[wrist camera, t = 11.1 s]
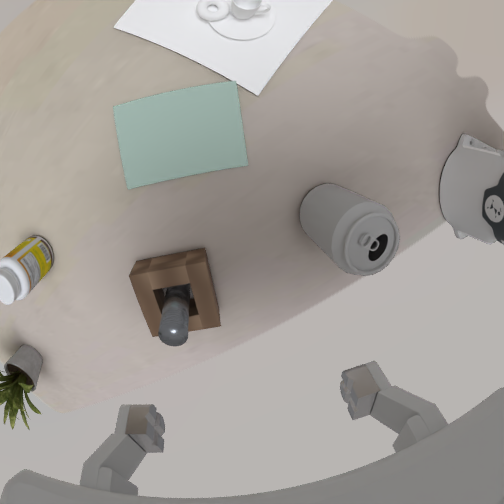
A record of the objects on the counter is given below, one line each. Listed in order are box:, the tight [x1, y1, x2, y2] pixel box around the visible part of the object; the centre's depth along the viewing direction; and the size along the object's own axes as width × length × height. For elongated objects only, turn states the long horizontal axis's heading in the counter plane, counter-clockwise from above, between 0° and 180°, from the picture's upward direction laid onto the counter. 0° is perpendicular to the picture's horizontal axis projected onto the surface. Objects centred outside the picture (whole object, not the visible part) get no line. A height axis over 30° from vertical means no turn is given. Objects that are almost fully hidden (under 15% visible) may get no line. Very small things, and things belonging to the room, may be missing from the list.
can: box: [300, 184, 400, 276], centre depth 29 cm, size 8×8×12 cm
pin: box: [158, 283, 191, 346], centre depth 31 cm, size 3×3×10 cm
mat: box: [113, 81, 248, 189], centre depth 28 cm, size 14×10×1 cm
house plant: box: [0, 345, 43, 429], centre depth 28 cm, size 14×14×16 cm
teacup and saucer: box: [195, 0, 277, 41], centre depth 21 cm, size 9×8×4 cm
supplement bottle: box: [0, 236, 53, 305], centre depth 25 cm, size 6×6×10 cm
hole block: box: [129, 248, 221, 337], centre depth 33 cm, size 9×9×4 cm
